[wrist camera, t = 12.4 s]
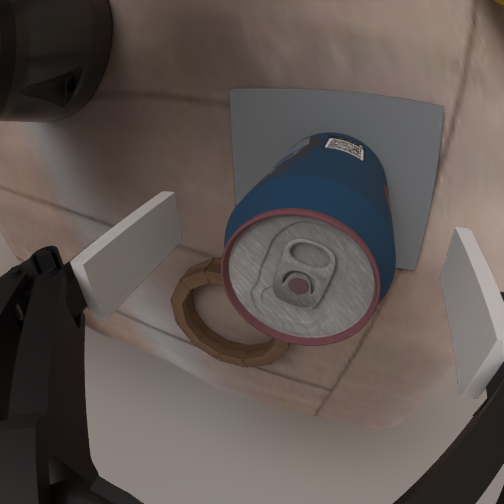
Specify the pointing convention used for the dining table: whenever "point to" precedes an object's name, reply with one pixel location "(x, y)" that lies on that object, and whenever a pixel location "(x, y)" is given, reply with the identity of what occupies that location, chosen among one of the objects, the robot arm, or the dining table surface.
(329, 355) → the dining table surface
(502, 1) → the lemon
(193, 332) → the holder ring
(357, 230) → the soda can
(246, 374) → the dining table surface
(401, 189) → the mat
